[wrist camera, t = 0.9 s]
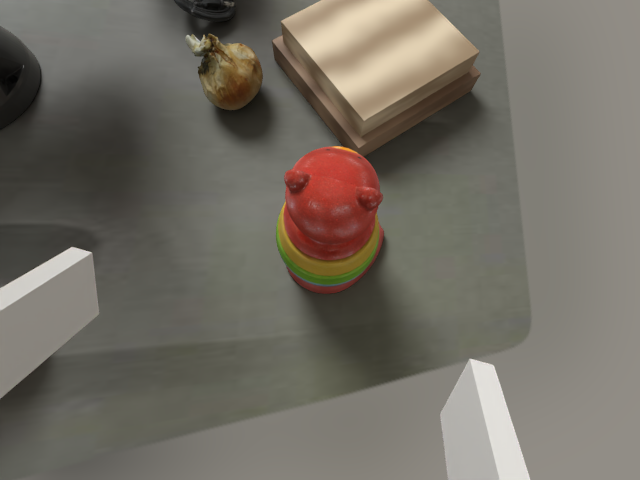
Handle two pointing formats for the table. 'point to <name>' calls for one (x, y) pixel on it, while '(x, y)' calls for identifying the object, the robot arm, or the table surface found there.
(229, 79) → the onion
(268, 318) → the table surface
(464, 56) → the stepped wooden block
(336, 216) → the stacking bear
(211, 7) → the milk frother
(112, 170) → the table surface
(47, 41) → the table surface
